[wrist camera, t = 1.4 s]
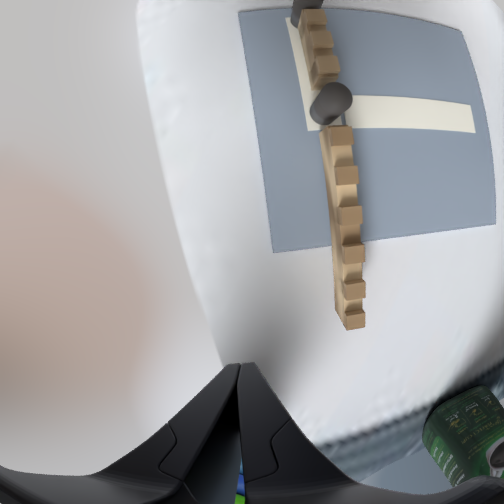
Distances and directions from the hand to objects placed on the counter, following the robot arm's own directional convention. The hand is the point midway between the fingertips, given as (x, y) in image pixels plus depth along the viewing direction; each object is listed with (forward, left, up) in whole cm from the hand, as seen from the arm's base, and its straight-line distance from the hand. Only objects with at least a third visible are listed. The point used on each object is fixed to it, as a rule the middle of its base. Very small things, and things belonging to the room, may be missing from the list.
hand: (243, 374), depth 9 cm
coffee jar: (-21, +21, -12) cm, 32 cm away
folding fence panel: (-6, -2, -11) cm, 13 cm away
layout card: (-11, -10, -12) cm, 19 cm away
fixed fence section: (-6, -14, -12) cm, 19 cm away
